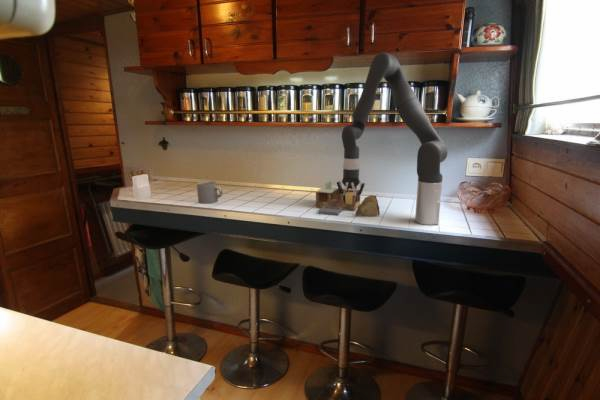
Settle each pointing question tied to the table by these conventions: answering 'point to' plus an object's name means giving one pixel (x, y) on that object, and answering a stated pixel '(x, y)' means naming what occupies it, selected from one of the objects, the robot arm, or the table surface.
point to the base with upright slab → (141, 186)
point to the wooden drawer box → (336, 200)
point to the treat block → (348, 197)
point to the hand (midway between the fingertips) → (350, 202)
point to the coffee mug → (208, 192)
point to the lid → (328, 188)
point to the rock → (368, 207)
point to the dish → (330, 210)
